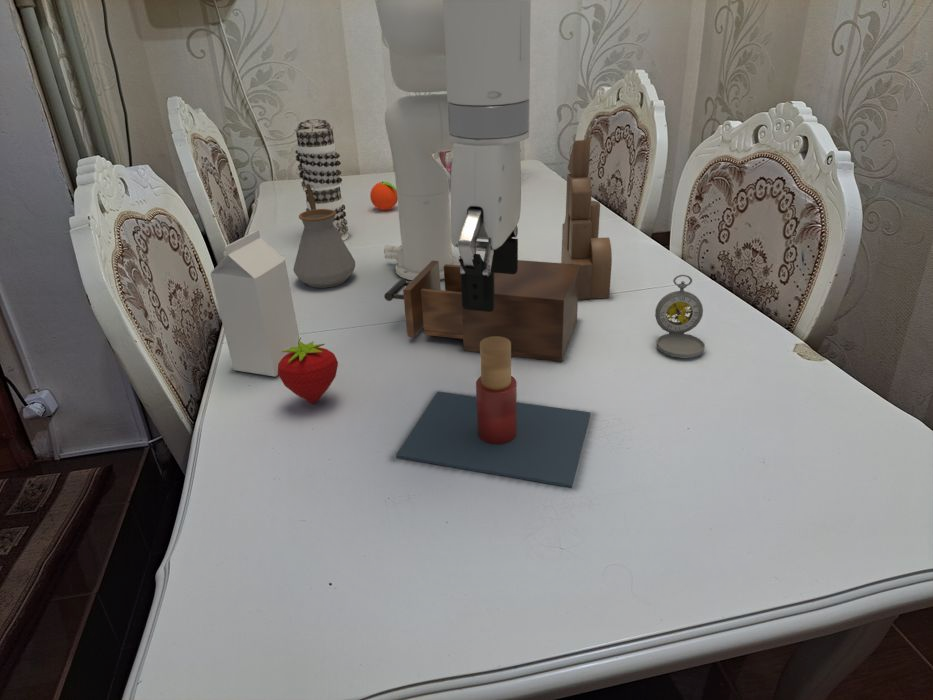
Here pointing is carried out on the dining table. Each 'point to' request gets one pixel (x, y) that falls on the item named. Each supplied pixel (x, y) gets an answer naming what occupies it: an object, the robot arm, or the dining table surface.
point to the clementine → (384, 196)
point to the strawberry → (308, 370)
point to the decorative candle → (321, 169)
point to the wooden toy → (585, 229)
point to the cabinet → (529, 311)
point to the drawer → (432, 302)
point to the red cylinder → (496, 392)
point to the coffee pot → (321, 249)
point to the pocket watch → (676, 339)
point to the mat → (525, 457)
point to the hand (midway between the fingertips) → (491, 289)
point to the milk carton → (255, 305)
